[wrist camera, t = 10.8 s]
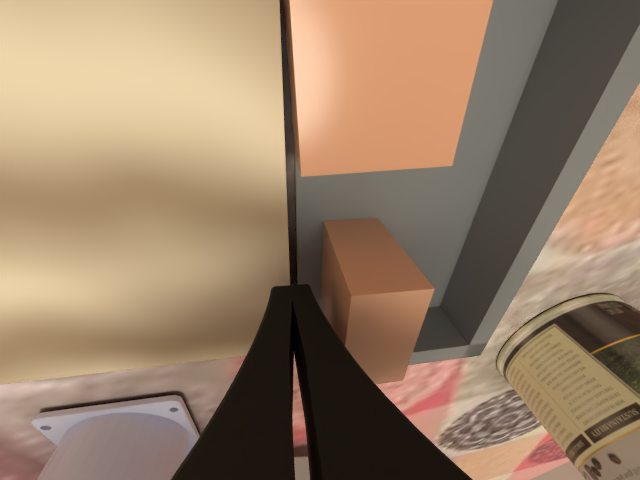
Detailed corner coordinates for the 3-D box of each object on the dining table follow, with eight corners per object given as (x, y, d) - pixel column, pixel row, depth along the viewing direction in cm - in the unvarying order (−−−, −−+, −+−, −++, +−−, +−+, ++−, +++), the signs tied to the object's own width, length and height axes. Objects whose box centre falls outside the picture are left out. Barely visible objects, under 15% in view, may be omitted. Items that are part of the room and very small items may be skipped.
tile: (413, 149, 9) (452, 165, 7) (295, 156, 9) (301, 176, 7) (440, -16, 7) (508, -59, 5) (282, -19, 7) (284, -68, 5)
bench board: (290, 318, 14) (292, 350, 12) (19, 345, 12) (-23, 387, 10) (273, -97, 6) (273, -167, 5) (-487, -210, 4) (-975, -401, 3)
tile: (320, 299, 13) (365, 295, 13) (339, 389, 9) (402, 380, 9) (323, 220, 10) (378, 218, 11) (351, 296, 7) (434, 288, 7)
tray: (444, 309, 16) (480, 355, 13) (297, 324, 14) (302, 379, 12) (599, -75, 7) (786, -170, 5) (289, -127, 6) (300, -302, 3)
